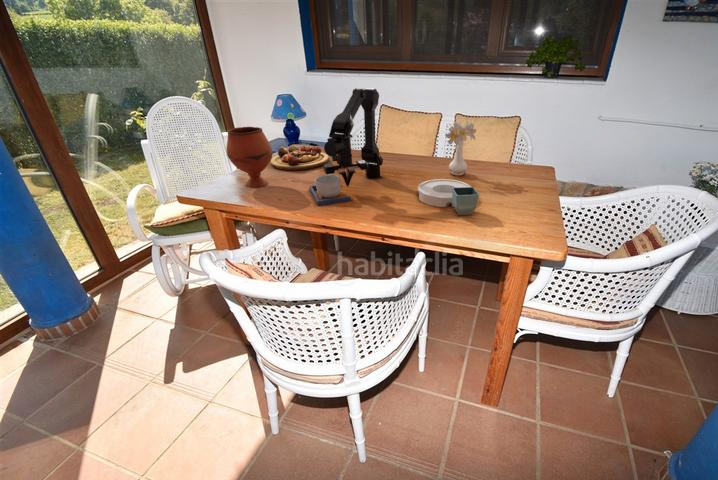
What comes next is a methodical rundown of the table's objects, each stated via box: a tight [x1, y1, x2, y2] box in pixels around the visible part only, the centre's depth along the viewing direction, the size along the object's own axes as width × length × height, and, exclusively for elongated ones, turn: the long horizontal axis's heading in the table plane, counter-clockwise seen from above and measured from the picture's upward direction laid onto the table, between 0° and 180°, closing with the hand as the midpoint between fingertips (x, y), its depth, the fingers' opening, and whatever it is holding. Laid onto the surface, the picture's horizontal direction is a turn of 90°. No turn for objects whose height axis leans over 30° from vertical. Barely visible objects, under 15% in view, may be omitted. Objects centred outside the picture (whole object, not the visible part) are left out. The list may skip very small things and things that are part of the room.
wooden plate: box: [269, 144, 330, 171], centre depth 197 cm, size 32×32×8 cm
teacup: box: [314, 174, 342, 199], centre depth 155 cm, size 14×11×8 cm
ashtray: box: [417, 178, 472, 208], centre depth 154 cm, size 23×23×4 cm
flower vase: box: [444, 119, 477, 176], centre depth 174 cm, size 13×18×25 cm
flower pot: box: [452, 186, 480, 216], centre depth 138 cm, size 9×9×9 cm
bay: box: [308, 184, 352, 206], centre depth 157 cm, size 14×20×2 cm
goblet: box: [226, 126, 273, 188], centre depth 163 cm, size 19×19×25 cm
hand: (347, 186), depth 158 cm, fingers closed
